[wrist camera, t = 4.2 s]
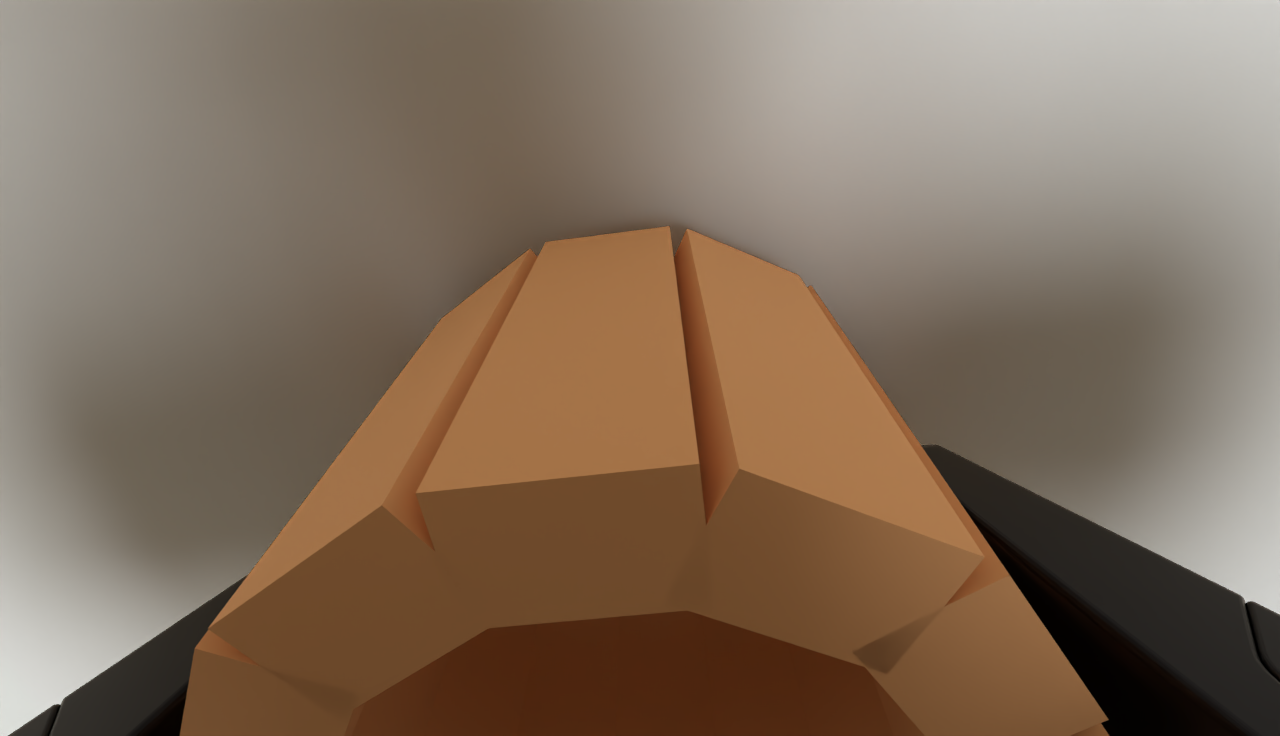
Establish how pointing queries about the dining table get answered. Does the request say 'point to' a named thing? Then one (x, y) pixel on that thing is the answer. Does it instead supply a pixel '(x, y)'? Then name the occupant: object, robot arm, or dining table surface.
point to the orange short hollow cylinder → (633, 534)
